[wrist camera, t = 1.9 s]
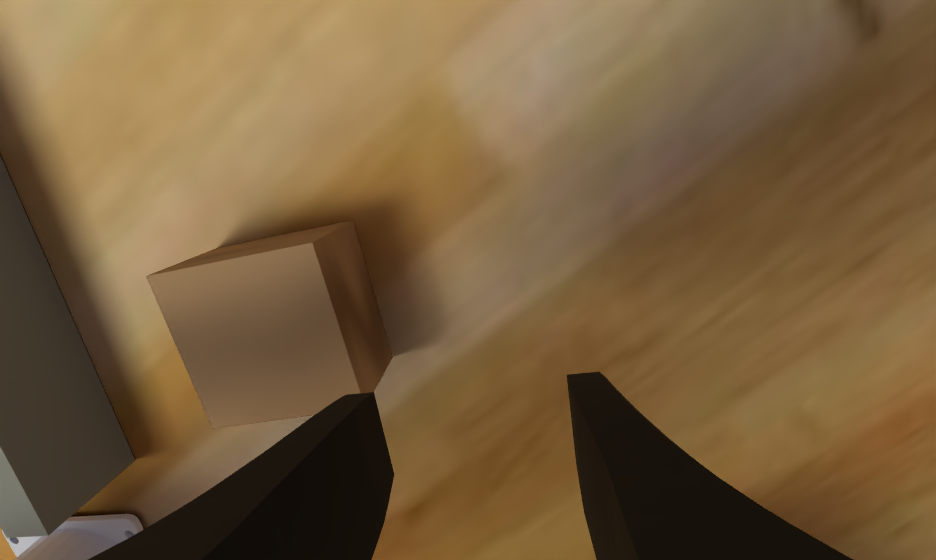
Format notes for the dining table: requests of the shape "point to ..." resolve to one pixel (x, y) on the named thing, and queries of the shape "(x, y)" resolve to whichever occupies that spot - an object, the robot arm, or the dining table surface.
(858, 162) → the dining table surface
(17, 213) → the backboard
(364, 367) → the walnut block
